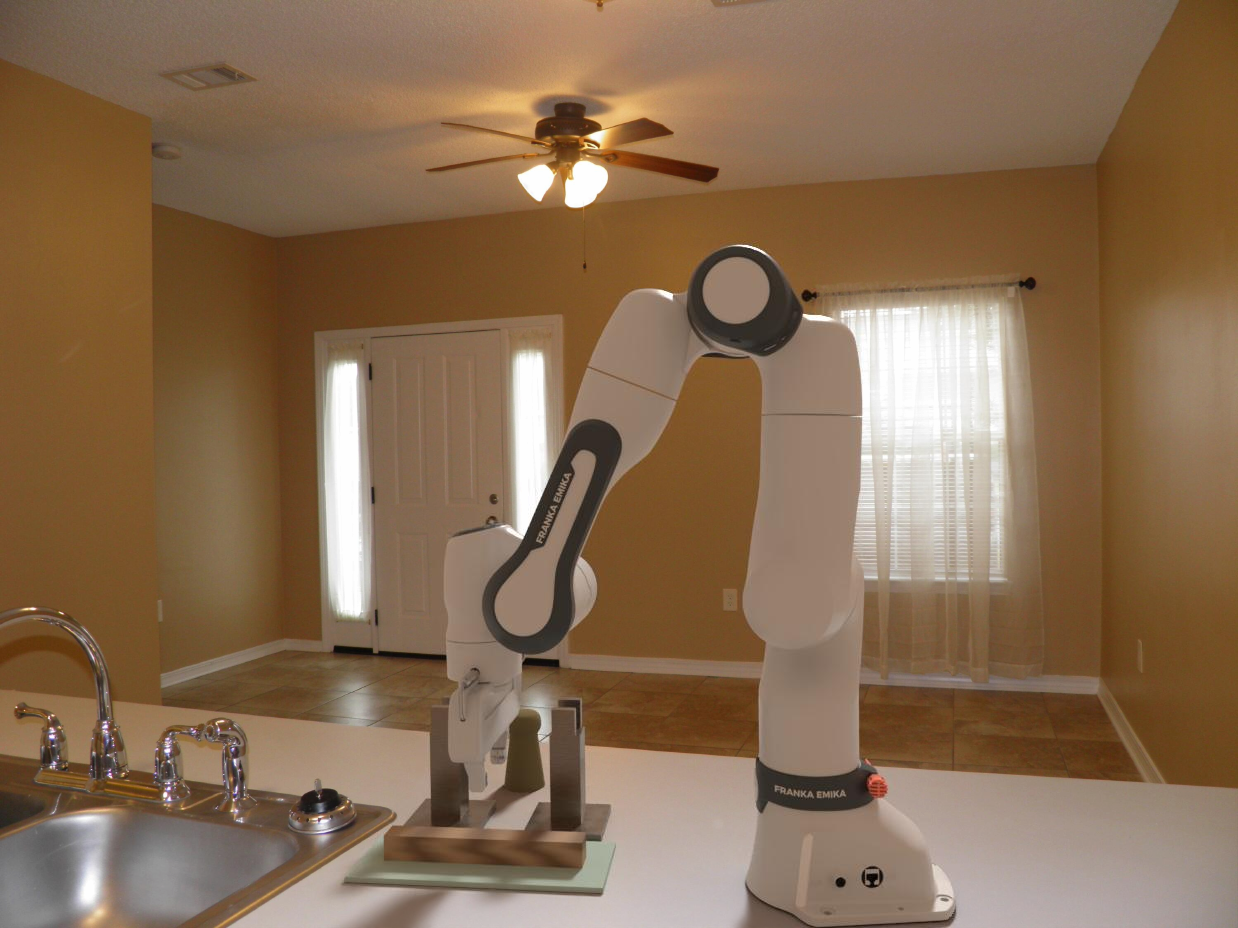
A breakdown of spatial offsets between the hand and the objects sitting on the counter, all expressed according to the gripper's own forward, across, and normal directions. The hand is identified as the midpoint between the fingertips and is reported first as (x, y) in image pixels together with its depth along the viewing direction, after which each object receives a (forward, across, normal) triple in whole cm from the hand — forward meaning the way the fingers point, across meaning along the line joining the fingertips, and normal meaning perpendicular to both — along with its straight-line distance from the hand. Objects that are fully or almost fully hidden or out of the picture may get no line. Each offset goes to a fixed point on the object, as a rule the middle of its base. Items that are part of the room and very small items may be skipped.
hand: (489, 775), depth 110 cm
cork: (+11, +26, +2) cm, 28 cm away
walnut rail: (+10, 0, +1) cm, 10 cm away
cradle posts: (+10, +12, +1) cm, 16 cm away
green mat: (+11, 0, +1) cm, 11 cm away
